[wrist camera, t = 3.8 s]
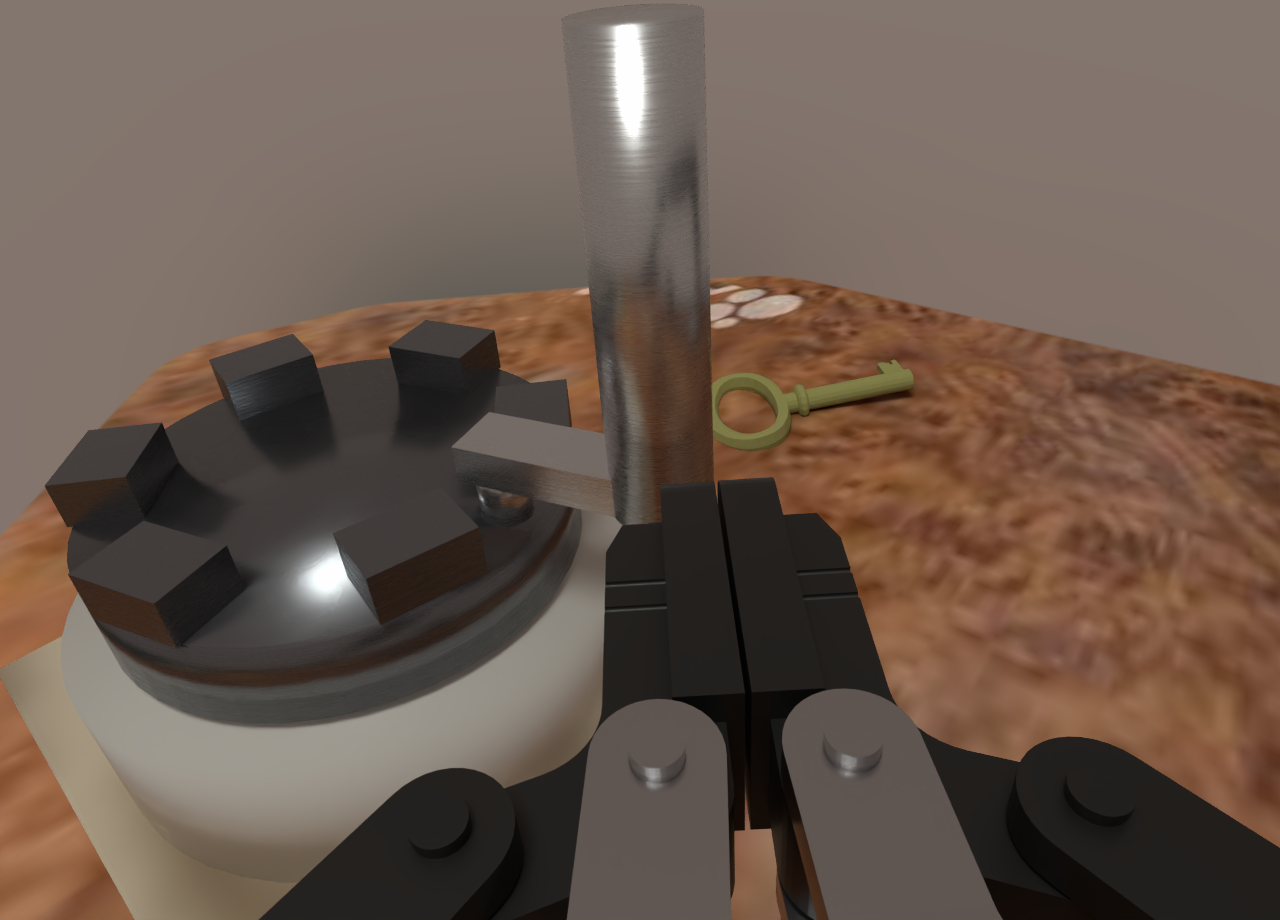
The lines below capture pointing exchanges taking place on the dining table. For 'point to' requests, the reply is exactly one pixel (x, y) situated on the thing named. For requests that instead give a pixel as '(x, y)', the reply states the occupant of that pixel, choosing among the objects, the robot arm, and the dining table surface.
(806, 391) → the key
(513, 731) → the cap housing
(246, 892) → the base board
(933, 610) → the dining table surface
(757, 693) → the robot arm
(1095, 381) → the dining table surface
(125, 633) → the cap with crank handle
